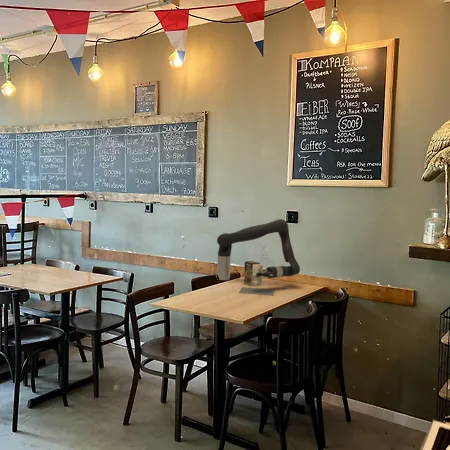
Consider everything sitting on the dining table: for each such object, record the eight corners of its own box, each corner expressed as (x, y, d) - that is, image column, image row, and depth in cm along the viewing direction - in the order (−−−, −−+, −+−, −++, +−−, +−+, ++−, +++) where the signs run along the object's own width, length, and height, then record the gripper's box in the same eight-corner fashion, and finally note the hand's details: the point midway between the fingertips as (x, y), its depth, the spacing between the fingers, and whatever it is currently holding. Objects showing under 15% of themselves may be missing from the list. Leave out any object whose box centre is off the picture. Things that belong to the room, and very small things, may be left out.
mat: (238, 293, 299) (238, 293, 299) (242, 287, 316) (242, 287, 316) (272, 296, 296) (272, 295, 296) (274, 290, 312) (274, 289, 312)
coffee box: (243, 284, 327) (244, 261, 326) (250, 283, 331) (251, 260, 330) (252, 286, 320) (253, 263, 318) (259, 285, 324) (260, 262, 322)
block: (256, 285, 302) (257, 265, 301) (251, 284, 306) (252, 264, 305) (261, 285, 305) (262, 265, 304) (257, 283, 309) (258, 264, 307)
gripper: (267, 264, 318) (247, 266, 309) (281, 268, 307) (261, 270, 297) (267, 275, 319) (246, 277, 309) (281, 279, 308) (260, 282, 298)
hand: (254, 274), depth 303 cm, fingers closed on block, 4 cm apart
